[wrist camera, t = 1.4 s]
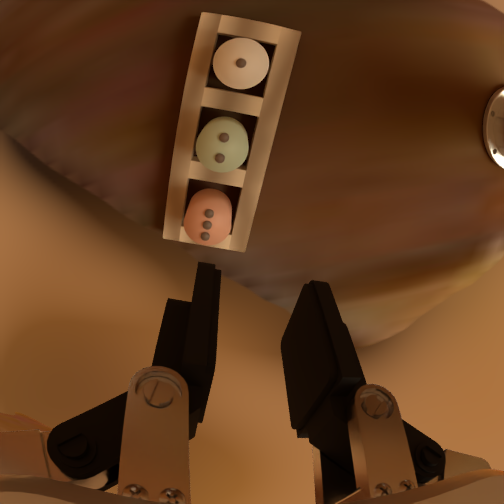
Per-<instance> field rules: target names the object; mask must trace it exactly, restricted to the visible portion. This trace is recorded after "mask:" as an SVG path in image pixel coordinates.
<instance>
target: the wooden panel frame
mask: <svg viewBox="0 0 504 504" xmlns="http://www.w3.org/2000/svg"><path fill="white" fill-rule="evenodd" d="M218 35H224V36H230V37H235V38H248V39H252V40H254V41H256V42H260V43H265V44H269V45H274V46H275V49H274V53H273V56H272V60H271V64H270V68H269V72H268V76H267V80H266V84H265V88H264V92H263V96H262V97H259V96H255V95H250V94H245V93H240V92H235V91H230V90H224V89H218V88H212V87H207V82H208V78H209V73H210V69H211V64H212V60H213V56H214V52H215V47H216V43H217V39H218ZM300 36H301V32H300V31H296V30H292V29H289V28H285V27H281V26H277V25H272V24H268V23H263V22H259V21H254V20H249V19H244V18H238V17H233V16H227V15H220V14H213V13H206V12H202V14H201V17H200V21H199V25H198V29H197V34H196V38H195V42H194V46H193V51H192V55H191V59H190V64H189V69H188V73H187V78H186V83H185V88H184V93H183V99H182V104H181V109H180V115H179V121H178V126H177V132H176V139H175V145H174V151H173V158H172V165H171V172H170V180H169V187H168V195H167V204H166V212H165V222H164V232H163V238H164V239H170V240H176V241H182V242H187V243H193V244H198V243H196V242H194V241H193V240H191V239H190V238H189V237H188V235H187V234H186V232H185V229H184V212H185V205H186V198H187V191H188V185H189V179H190V178H191V179H197V180H203V181H209V182H214V183H220V184H225V185H231V186H236V187H241V189H240V193H239V198H238V202H237V207H236V211H235V216H234V220H233V225H232V227H231V230H230V233H229V235H228V236H227V237H226V239H225V240H223V241H222V242H220V243H218V244H215V245H205V246H211V247H216V248H222V249H228V250H234V251H240V252H245V250H246V246H247V242H248V238H249V234H250V230H251V226H252V222H253V218H254V214H255V210H256V206H257V202H258V198H259V194H260V190H261V186H262V183H263V179H264V175H265V171H266V167H267V163H268V159H269V155H270V151H271V147H272V143H273V140H274V136H275V132H276V128H277V124H278V120H279V116H280V112H281V109H282V105H283V101H284V97H285V93H286V89H287V86H288V82H289V78H290V74H291V70H292V66H293V63H294V59H295V55H296V51H297V47H298V44H299V40H300ZM202 106H205V107H211V108H216V109H222V110H228V111H233V112H238V113H243V114H248V115H253V116H257V121H256V125H255V129H254V133H253V137H252V142H251V146H250V150H249V154H248V159H247V163H246V165H240V166H239V167H238V168H237V169H235V170H233V171H230V172H224V173H220V172H214V171H212V170H209V169H208V168H206V167H205V166H204V165H203V164H202V163H201V162H200V160H199V159H198V157H197V156H193V155H194V149H195V143H196V138H197V132H198V127H199V122H200V117H201V111H202ZM199 245H201V244H199Z"/></svg>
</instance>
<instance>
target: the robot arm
mask: <svg viewBox="0 0 504 504" xmlns="http://www.w3.org/2000/svg"><path fill="white" fill-rule="evenodd" d="M483 137H484V143H485V146H486V149H487V152H488V154H489V156H490V158H491V159H492V160H493V161H494V163H496V164H497V165H498V166H500V167H502V168H504V87H502V88H500V89H498V90H497V91H496V92H495V93H494V94H493V95H492V97H491V98H490V100H489V102H488V104H487V107H486V110H485V114H484V119H483ZM220 283H221V270H217V269H215V264H209V263H203V262H198V268H197V273H196V279H195V285H194V291H193V297H192V302H187V301H181V300H175V299H170V298H168V300H167V303H166V307H165V312H164V315H163V320H162V324H161V328H160V332H159V336H158V341H157V345H156V349H155V354H154V358H153V363H152V366H151V367H146V368H143V369H142V370H140V371H138V372H137V373H136V374H135V375H134V376H133V377H132V378H131V381H130V384H129V389H128V391H127V392H125V393H123V394H121V395H119V396H117V397H115V398H113V399H111V400H109V401H107V402H105V403H103V404H101V405H99V406H97V407H95V408H93V409H91V410H89V411H86V412H84V413H82V414H80V415H78V416H76V417H74V418H72V419H69V420H67V421H65V422H63V423H61V424H59V425H58V426H56V427H55V428H53V430H52V431H47V432H40V430H39V429H37V430H25V431H9V432H0V504H191V495H190V470H189V440H190V439H192V438H194V437H195V433H196V428H197V424H198V423H202V421H203V417H204V413H205V409H206V405H207V401H208V396H209V392H210V388H211V384H212V380H213V376H214V371H215V364H216V351H217V350H216V349H217V333H218V314H219V298H220ZM281 353H282V360H283V368H284V375H285V382H286V390H287V398H288V405H289V412H290V421H291V427H292V428H293V429H296V430H297V437H298V438H309V442H310V443H311V444H312V445H313V450H312V451H313V464H314V465H313V466H314V482H315V497H316V504H504V471H501V470H495V469H491V468H490V465H489V463H488V462H487V461H486V460H484V459H482V458H479V457H475V456H471V455H467V454H463V453H459V452H455V451H452V450H448V449H445V450H444V451H443V449H442V448H441V446H440V445H439V444H438V443H436V442H435V441H434V440H432V439H431V438H429V437H428V436H426V435H425V434H423V433H422V432H420V431H419V430H417V429H416V428H414V427H413V426H411V425H410V424H408V423H407V422H405V421H404V420H402V418H401V414H400V411H399V407H398V404H397V402H396V399H395V397H394V396H393V395H392V394H391V392H389V391H388V390H387V389H386V388H384V387H382V386H380V385H376V384H366V380H365V377H364V375H363V371H362V369H361V366H360V363H359V360H358V357H357V354H356V351H355V348H354V345H353V342H352V339H351V336H350V334H349V331H348V328H347V326H346V324H345V323H343V321H342V319H341V316H340V313H339V310H338V307H337V305H336V302H335V299H334V296H333V294H332V291H331V288H330V286H329V284H328V283H327V282H321V281H314V280H312V281H310V282H309V284H304V286H303V288H302V290H301V293H300V295H299V298H298V300H297V303H296V305H295V308H294V310H293V313H292V315H291V318H290V320H289V323H288V325H287V328H286V330H285V332H284V335H283V337H282V340H281ZM117 484H118V494H113V493H108V492H104V491H105V490H107V489H109V488H111V487H113V486H115V485H117Z"/></svg>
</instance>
